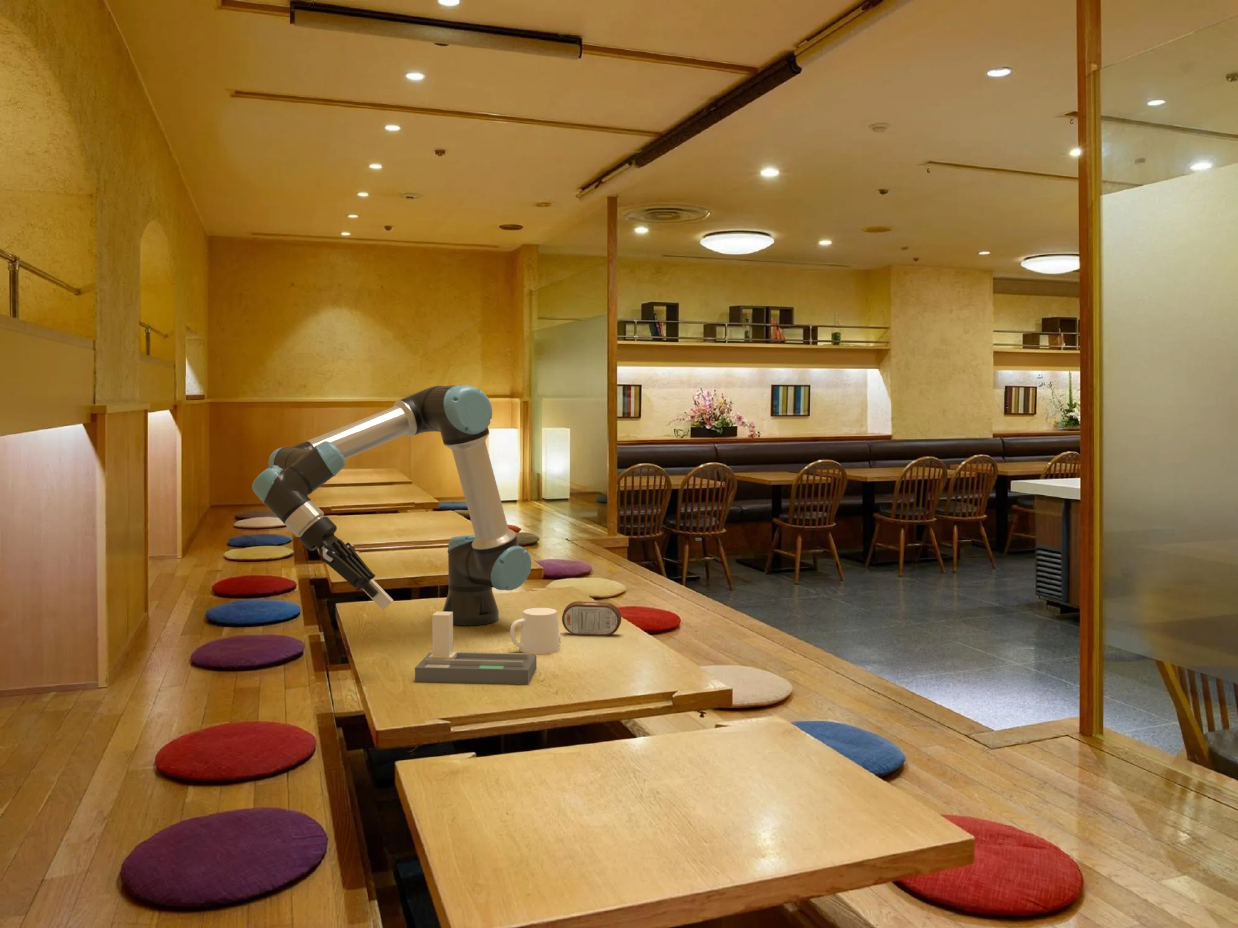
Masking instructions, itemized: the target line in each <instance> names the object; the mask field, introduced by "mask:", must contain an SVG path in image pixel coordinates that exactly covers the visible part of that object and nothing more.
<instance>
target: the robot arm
mask: <svg viewBox="0 0 1238 928" xmlns="http://www.w3.org/2000/svg"><path fill="white" fill-rule="evenodd" d="M492 418H493V407H492V403H491V401H490V399H489V397H488V396H487V395H486V393H485V392H484V391H482V390H481V389H479V388H478V387H475V386H470V385H465V384H459V385H458V384H457V385H456V384H455V385H434V386H431V387H427V388H424V389H422V390H420V391H417V392H415V393H413V394H410V395H408V396H407V397H404V398H401V399H398V400H396V401H394V403H393V406H392V407H390V408H388V409H385V410H382V411H379V412H377V413H375V414H372V415H369V416H366V417H365V418H362V419H360V420H357V421H354V422H351V423H348V424H346V425H344V426H341V427H338V428H337V429H336V428H335V429H334V430H331V431H328V432H326V433H324V434H321V435H318V436H316V437H314V438H310V439H308V440H306V441H304V442H300V443H299V444H296V445H293V446H283V447H279V448H276V449H275V450H273V452H272V453H271V454H270V456H269V458H268V461H267V463H268V468H266V469H264V470H263V471H262V472H261V473H259V474H258V475H257V477H255V479H254V480H253V481H252V484H251V489H252V491H253V493H254V494H255V495H256V497H258V499H259V500H260V501H261V502H262V504H263V505H265V506H266V507H267V508H268V510H270V511H271V512H272V513H273V514H274V515H275V516H276V517H277V518H278V519H279V520H280V521H281V522H282V523H283V524H284V525H285V526H286V528H287V530H288V532H289V533H292V534H294V536H295V537H297V538H298V537H299V541H300V542H301V543H302V544H303V545H304V546H305V547H306V548H307V549H308V550H309V551H311V552H313V551H315V550H317V549H318V550H319V551H318V552H320V553H321V554H322V556H321V557H319V558H320V561H322V562H323V563H325V564H326V565H328V566H329V567H331V569H332V570H334V571H335V572H336V573H337V574H338V575H339V576H340V577H342V578H343V579H344V580H345V581H346V582H348V584H350V585H351V586H352V587H353V588H355V590H356V591H361V590H362V591H363V592H364V593H365V594H366V595H367V596H368V597H370V599H371V600H372V601H373V602H374V603H375V604H376V605H377V606H378V607H379V608H380V610H382V611H384V610H386V608H388V606H390V605H391V604H392V603H393V602H394V599H393V598H392V597H391V596H390V595H389V594H388V593H387V592H386V591H385V590H384V589H383V588H382V587H381V586H380V585H379V583H377V581H376V580H375V579H374V578H375V577H376V574H375V573H373V571H371V569H370V568H369V566H368V565H367V564H366V563H365V561H364V560H363V559H362V558H361V557H360V556H359V554H358V553H357V552H356V550H355V549H354V547H353V546H352V545H351V543H350V542H346V543H345V542H344V541H343V540H342V539H340V538H339V537H337V536H335V533H336V532H337V529H338V527H337V525H336V524H335V522H333V521H332V520H331V519H330V518H329V517H328V516H325V513H324V511H323V510H322V509H321V508H320V507H319V506H318V505H317V504H316V503H315V502H314V501H313V500H312V499H311V498H310V497H309V495H311V494H312V493H314V492H315V491H316V490H317V489H319V488H320V487H321V486H323V485H324V484H326V483H327V482H328V481H330V480H331V479H332V478H333V477H336V475H337V474H338V473H339V472H340V471H341V470H343V469H344V467H345V466H346V460H348V459H350V458H352V457H355V456H357V455H360V454H362V453H364V452H367V451H370V450H372V449H374V448H377V447H379V446H381V445H384V444H386V443H389V442H391V441H393V440H394V441H395V440H396V439H398V438H401V437H405V436H407V437H410V438H411V437H414V436H416V435H419V434H423V433H428V432H429V433H430V432H438V433H439V432H440V436H441V439H442V442H443V446H445V447H447V448H449V449H450V450H451V452H452V456H453V459H454V463H455V467H456V470H457V475H458V477H459V481H460V484H461V488H462V492H463V496H464V498H465V499H464V500H465V503H466V507H467V510H468V514H469V517H470V521H471V525H472V530H473V533H474V534H469V535H466V534H465V535H457V536H453V537H451V538H450V539H449V540H448V548H447V553H448V554H447V555H448V556H447V559H448V560H447V561H448V562H447V563H448V565H447V566H448V570H447V571H448V593H447V596H446V599H445V602H444V606H443V608H442V611H441V612H453V626H454V625H455V626H479V625H480V626H481V625H487V624H491V623H495V622H497V621H498V620H499V616H500V615H499V613H500V611H499V607H498V604H497V601H496V598H495V596H494V592H493V589H496V590H498V591H514V590H517V589H518V588H520V587H521V586H522V585H523V584H524V583H526V581H527V580H528V576H529V575H530V573H531V570H532V569H531V568H532V558H531V555H530V552H529V551H528V550H527V549H525V548H524V546H522V545H520V544H519V541H518V537H517V534H516V532H515V531H514V530H513V529H510V528H509V526H508V523H507V518H506V514H505V511H504V508H503V504H502V503H503V502H502V500H501V495H500V492H499V489H498V488H499V487H498V485H497V481H496V477H495V473H494V469H493V466H492V465H493V464H492V463H491V462H492V461H491V458H490V454H489V450H488V445H487V442H486V440H487V438H488V436H489V435H490V429H489V426H490V424H491V419H492Z"/></svg>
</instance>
